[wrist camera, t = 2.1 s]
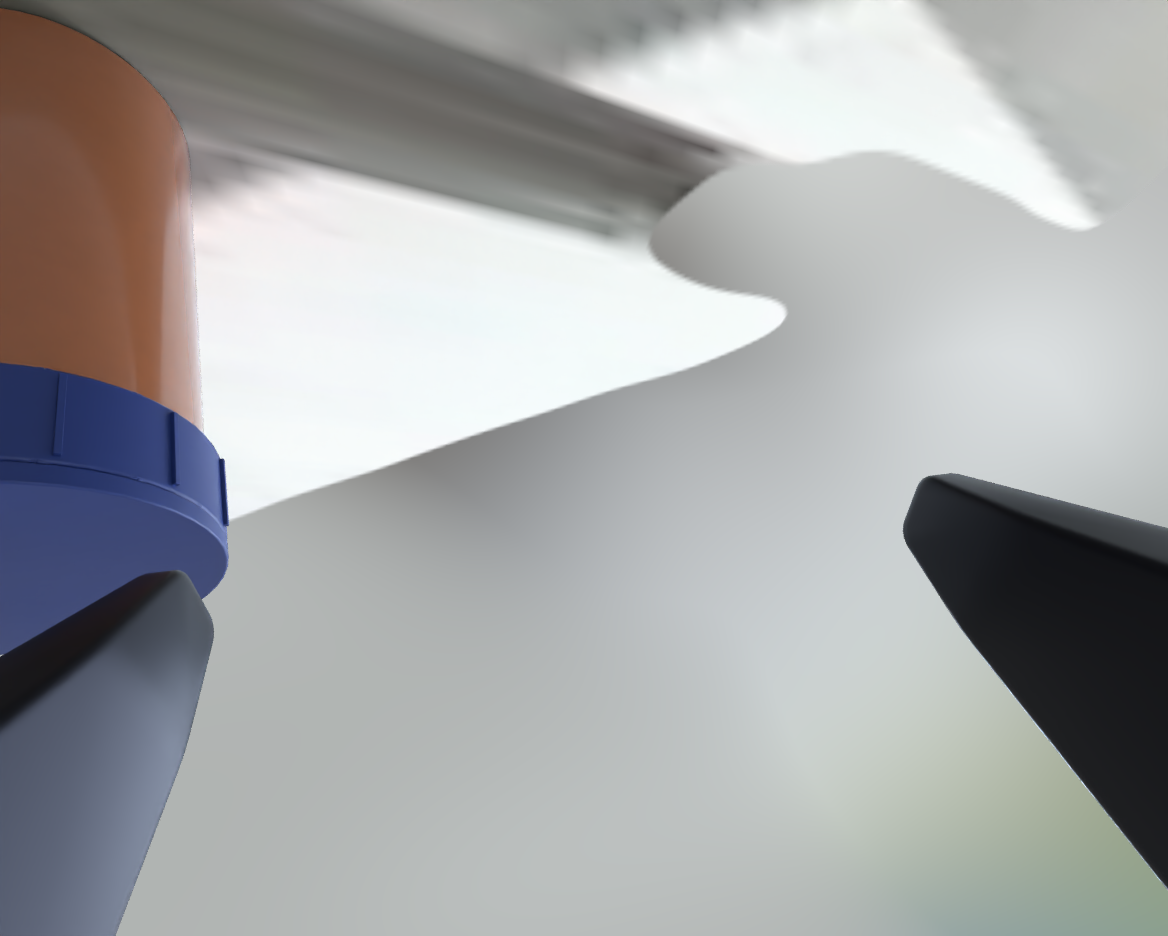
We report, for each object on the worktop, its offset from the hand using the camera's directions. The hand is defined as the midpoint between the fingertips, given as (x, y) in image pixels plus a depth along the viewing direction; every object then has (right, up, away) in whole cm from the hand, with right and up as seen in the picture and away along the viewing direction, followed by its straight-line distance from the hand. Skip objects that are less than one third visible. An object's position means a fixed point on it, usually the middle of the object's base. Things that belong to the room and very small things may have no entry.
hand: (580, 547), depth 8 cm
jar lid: (-11, -1, +4) cm, 11 cm away
